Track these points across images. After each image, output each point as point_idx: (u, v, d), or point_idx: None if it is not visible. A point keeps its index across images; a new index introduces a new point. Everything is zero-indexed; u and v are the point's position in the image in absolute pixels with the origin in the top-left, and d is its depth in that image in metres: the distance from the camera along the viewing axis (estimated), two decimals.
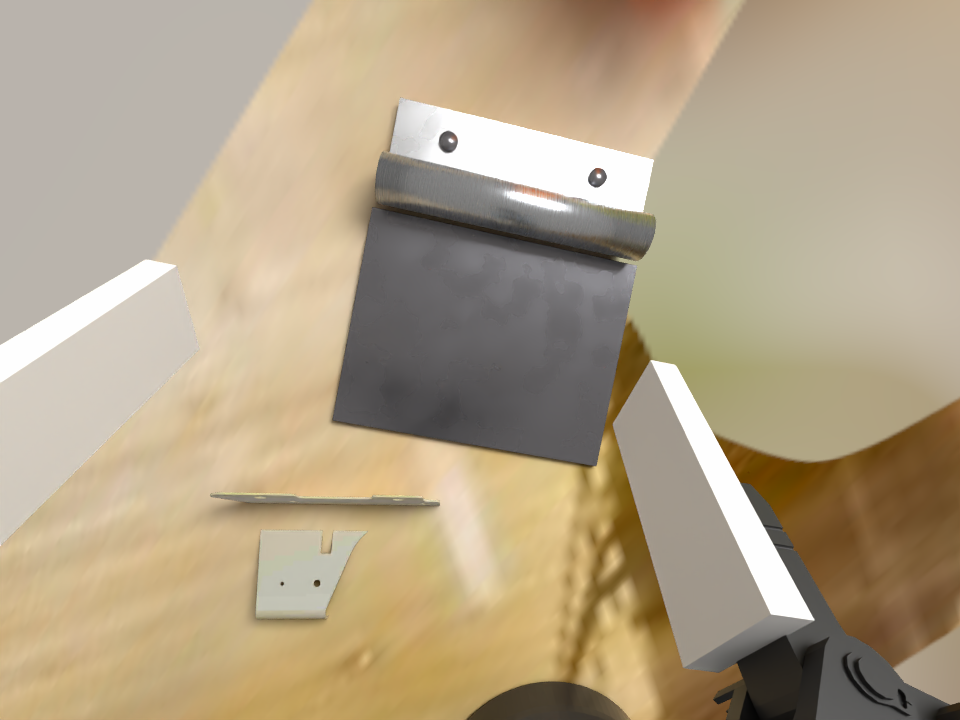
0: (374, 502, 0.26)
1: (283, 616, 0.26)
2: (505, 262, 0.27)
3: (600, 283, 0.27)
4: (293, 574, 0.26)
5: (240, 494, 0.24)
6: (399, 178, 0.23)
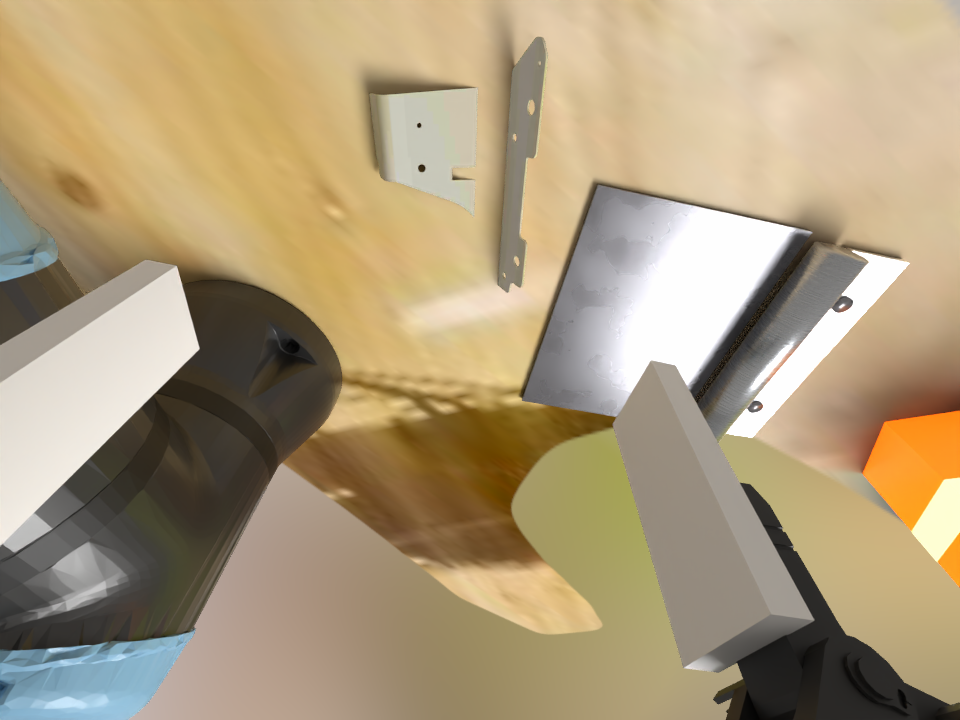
0: (509, 230, 0.26)
1: (384, 131, 0.22)
2: (709, 343, 0.31)
3: None
4: (428, 138, 0.23)
5: (541, 88, 0.20)
6: (836, 281, 0.24)
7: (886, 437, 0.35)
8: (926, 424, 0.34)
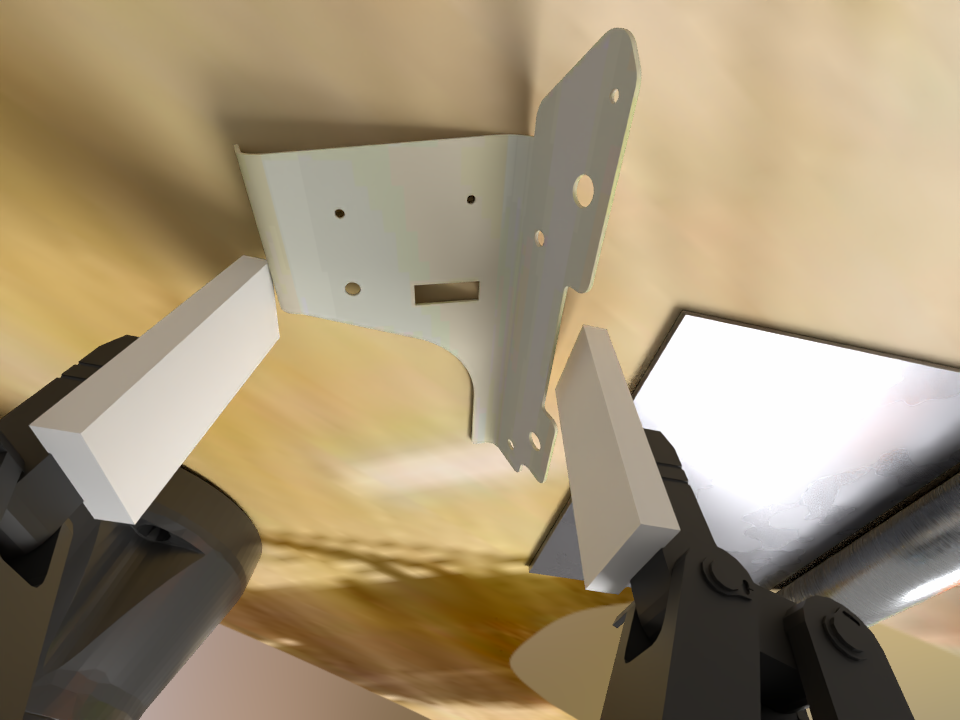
0: (522, 387, 0.14)
1: (264, 226, 0.10)
2: (828, 524, 0.19)
3: None
4: (363, 235, 0.11)
5: (617, 156, 0.08)
6: None
7: None
8: None
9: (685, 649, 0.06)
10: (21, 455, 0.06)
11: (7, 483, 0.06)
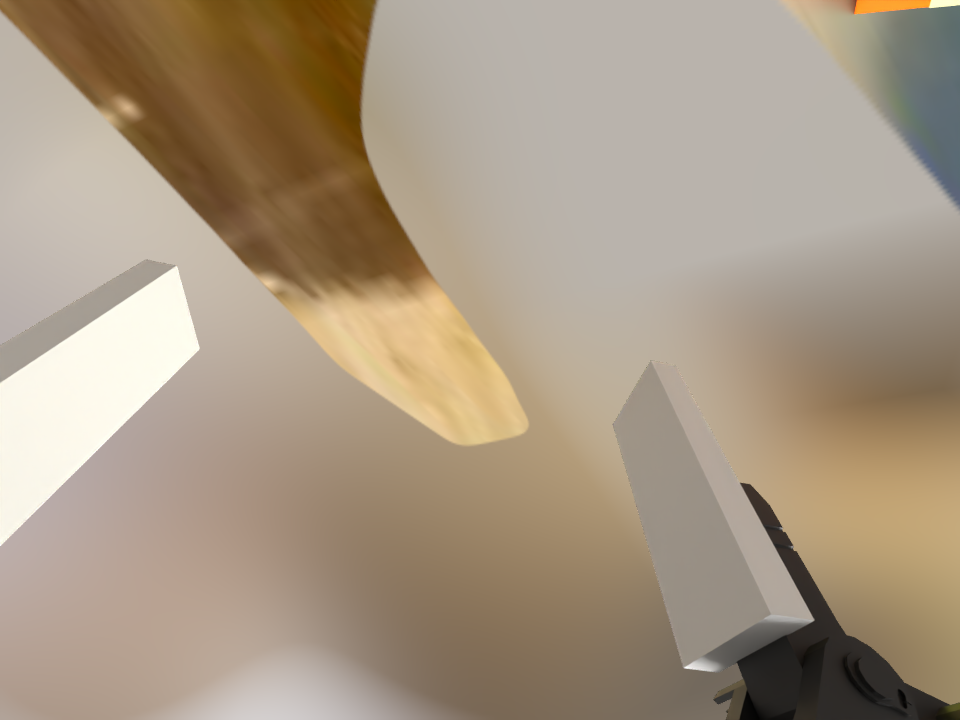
0: None
1: None
2: None
3: None
4: None
5: None
6: None
7: None
8: None
9: None
10: None
11: None
